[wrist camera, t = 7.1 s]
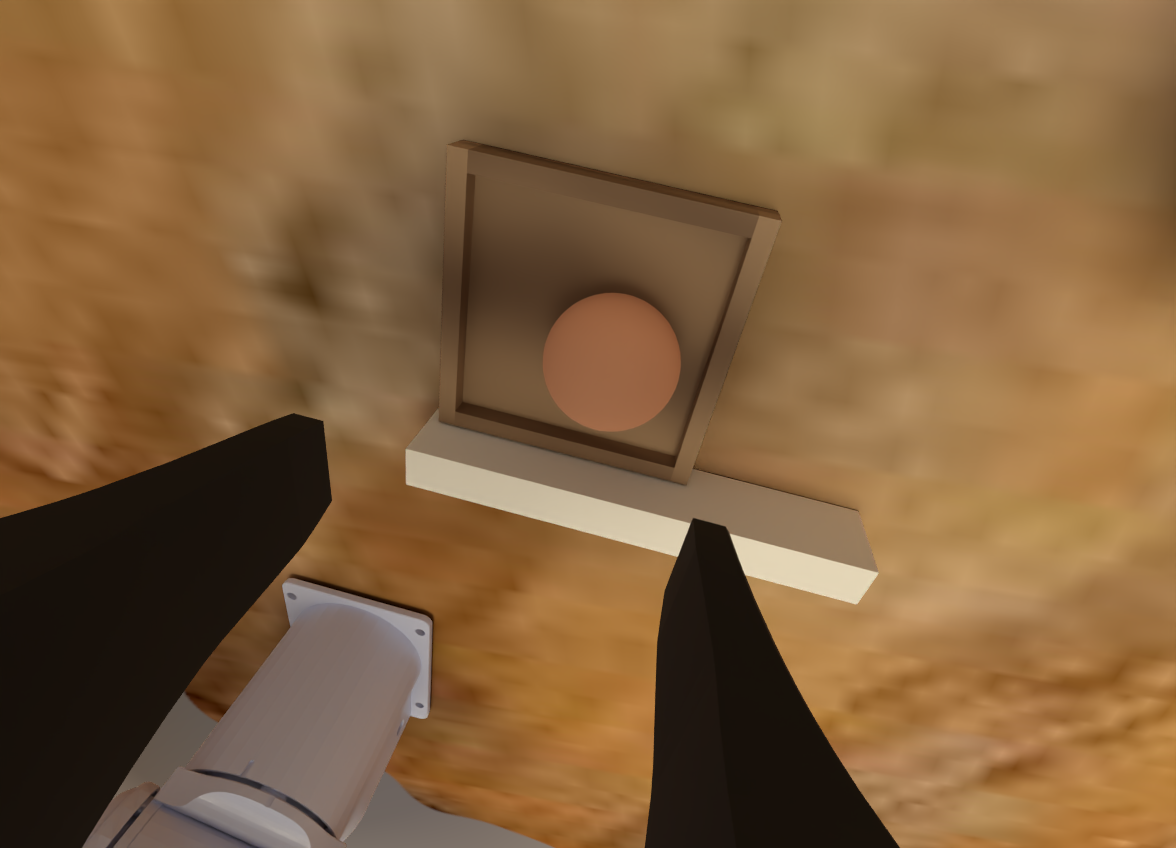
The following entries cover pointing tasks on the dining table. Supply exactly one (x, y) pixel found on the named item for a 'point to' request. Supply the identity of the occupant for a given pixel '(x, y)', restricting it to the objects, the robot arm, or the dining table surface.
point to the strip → (650, 507)
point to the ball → (611, 362)
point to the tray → (587, 295)
